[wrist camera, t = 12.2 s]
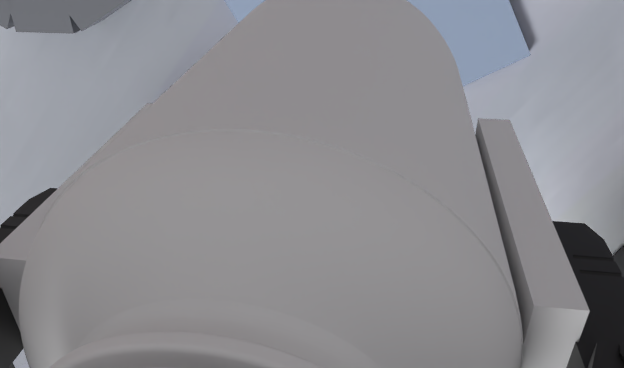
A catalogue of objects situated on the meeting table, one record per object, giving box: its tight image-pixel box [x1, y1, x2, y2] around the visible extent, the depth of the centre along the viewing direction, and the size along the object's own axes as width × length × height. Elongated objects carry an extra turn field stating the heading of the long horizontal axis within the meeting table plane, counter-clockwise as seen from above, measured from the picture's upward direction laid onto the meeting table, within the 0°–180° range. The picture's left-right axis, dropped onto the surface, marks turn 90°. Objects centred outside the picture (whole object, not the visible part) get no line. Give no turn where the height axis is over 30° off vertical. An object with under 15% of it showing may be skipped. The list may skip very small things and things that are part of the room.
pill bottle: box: [19, 0, 523, 368], centre depth 11 cm, size 8×8×15 cm
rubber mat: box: [224, 0, 531, 86], centre depth 30 cm, size 14×14×1 cm
